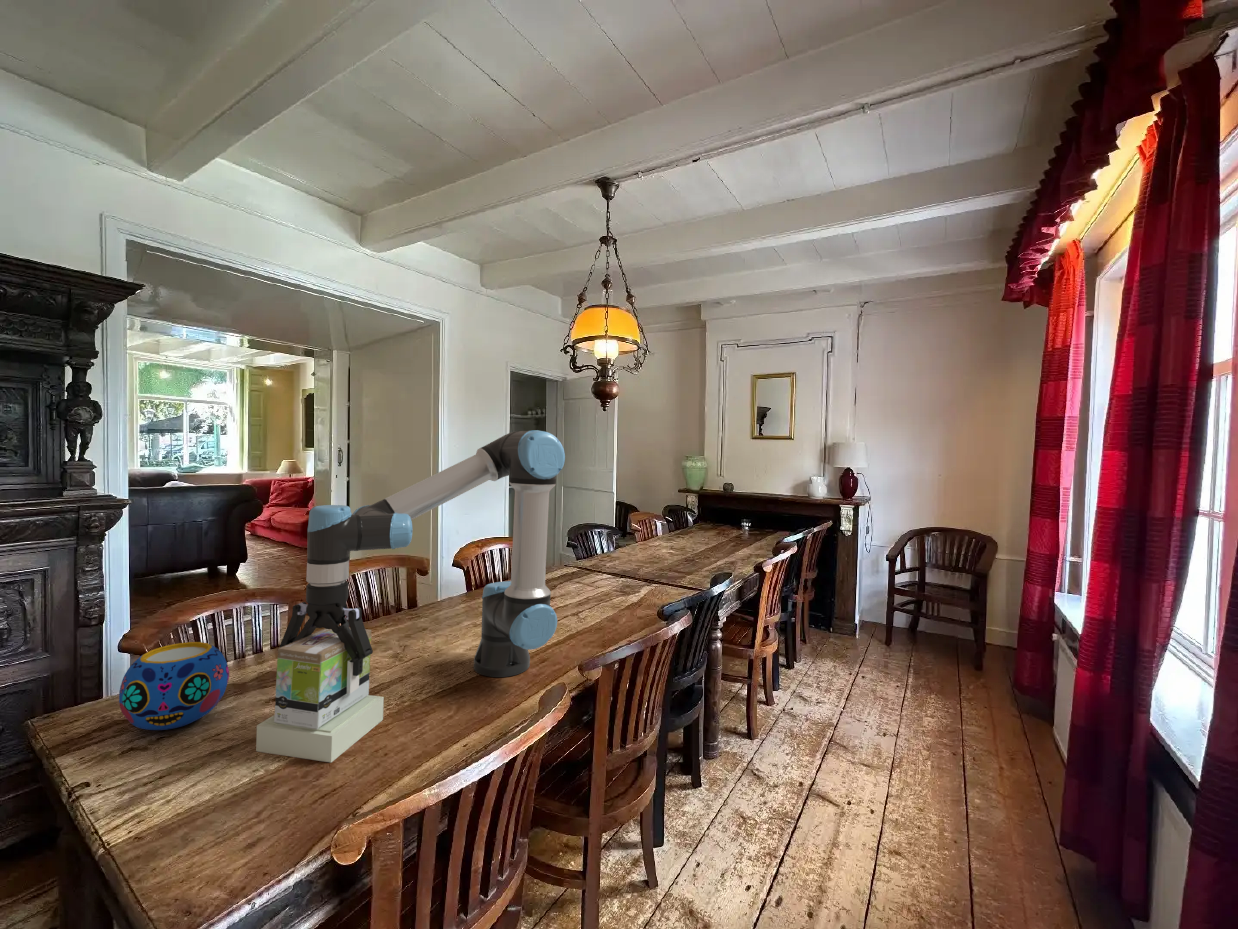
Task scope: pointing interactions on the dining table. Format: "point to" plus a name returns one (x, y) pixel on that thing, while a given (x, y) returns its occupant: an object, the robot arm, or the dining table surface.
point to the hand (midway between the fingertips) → (324, 687)
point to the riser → (321, 733)
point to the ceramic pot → (173, 685)
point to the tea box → (316, 680)
